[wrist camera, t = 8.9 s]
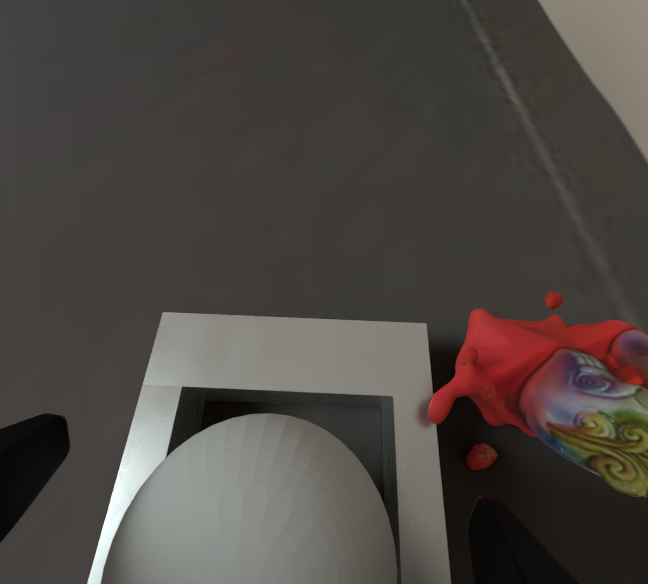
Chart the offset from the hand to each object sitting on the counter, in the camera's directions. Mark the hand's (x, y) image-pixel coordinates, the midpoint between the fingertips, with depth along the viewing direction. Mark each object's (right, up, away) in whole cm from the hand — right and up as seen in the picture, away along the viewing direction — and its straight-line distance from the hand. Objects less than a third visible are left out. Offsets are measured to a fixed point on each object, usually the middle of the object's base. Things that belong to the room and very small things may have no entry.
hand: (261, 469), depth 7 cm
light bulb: (0, -5, +7) cm, 8 cm away
